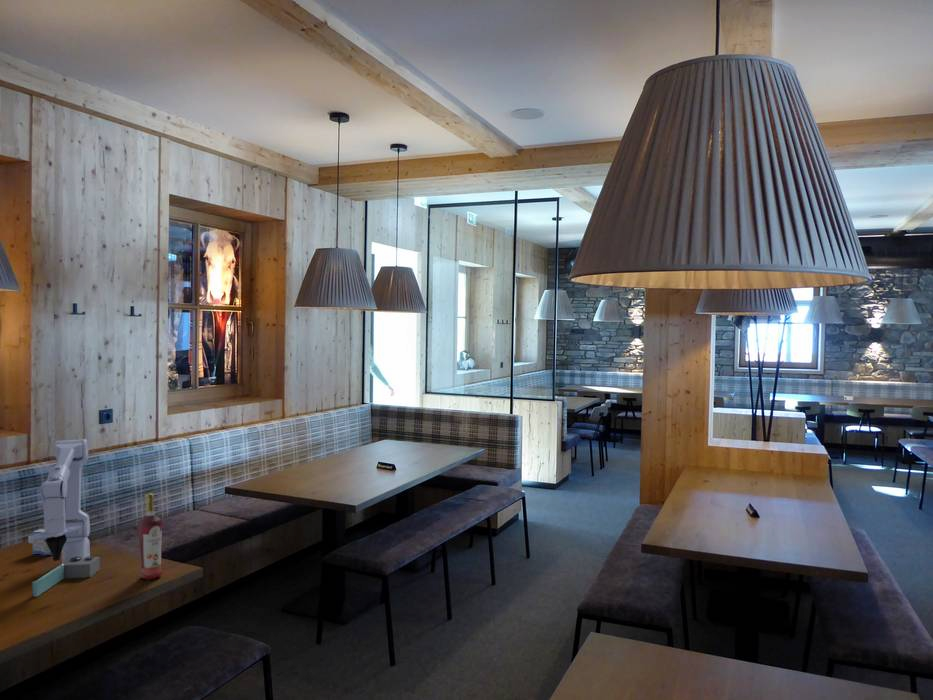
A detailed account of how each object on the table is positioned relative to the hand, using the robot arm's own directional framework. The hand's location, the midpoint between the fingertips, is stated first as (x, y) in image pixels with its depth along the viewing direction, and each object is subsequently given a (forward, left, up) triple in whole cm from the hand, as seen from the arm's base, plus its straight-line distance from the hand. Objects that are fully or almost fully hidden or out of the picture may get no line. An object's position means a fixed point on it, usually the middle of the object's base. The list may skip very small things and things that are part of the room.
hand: (56, 559), depth 217 cm
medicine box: (-35, -21, -10) cm, 42 cm away
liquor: (-7, +27, -10) cm, 29 cm away
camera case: (-12, +2, -9) cm, 15 cm away
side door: (-1, -3, -9) cm, 10 cm away
